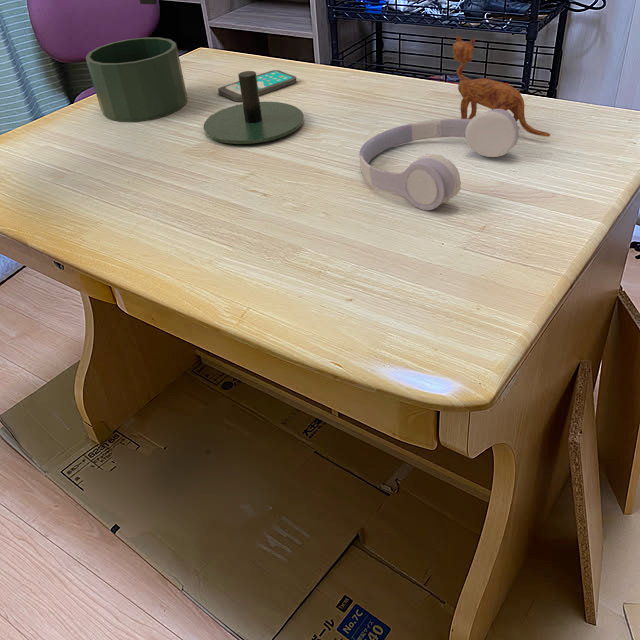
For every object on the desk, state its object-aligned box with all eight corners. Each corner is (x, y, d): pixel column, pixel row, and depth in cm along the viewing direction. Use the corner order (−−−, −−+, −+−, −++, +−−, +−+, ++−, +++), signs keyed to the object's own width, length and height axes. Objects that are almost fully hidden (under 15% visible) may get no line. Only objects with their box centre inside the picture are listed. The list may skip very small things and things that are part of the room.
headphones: (524, 154, 94) (412, 135, 106) (527, 107, 90) (410, 93, 101) (448, 217, 82) (330, 189, 93) (448, 167, 77) (324, 143, 89)
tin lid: (227, 156, 102) (217, 100, 96) (190, 123, 114) (180, 72, 109) (322, 129, 108) (318, 75, 102) (277, 100, 120) (271, 50, 115)
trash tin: (114, 129, 115) (98, 70, 108) (94, 103, 127) (77, 49, 120) (199, 107, 121) (187, 50, 114) (171, 85, 132) (160, 32, 126)
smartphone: (214, 87, 125) (274, 68, 132) (215, 92, 126) (275, 73, 133) (238, 97, 120) (299, 76, 127) (238, 102, 121) (299, 81, 127)
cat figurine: (557, 135, 99) (573, 45, 90) (539, 151, 95) (554, 58, 87) (458, 114, 109) (464, 30, 100) (438, 127, 105) (442, 41, 96)
